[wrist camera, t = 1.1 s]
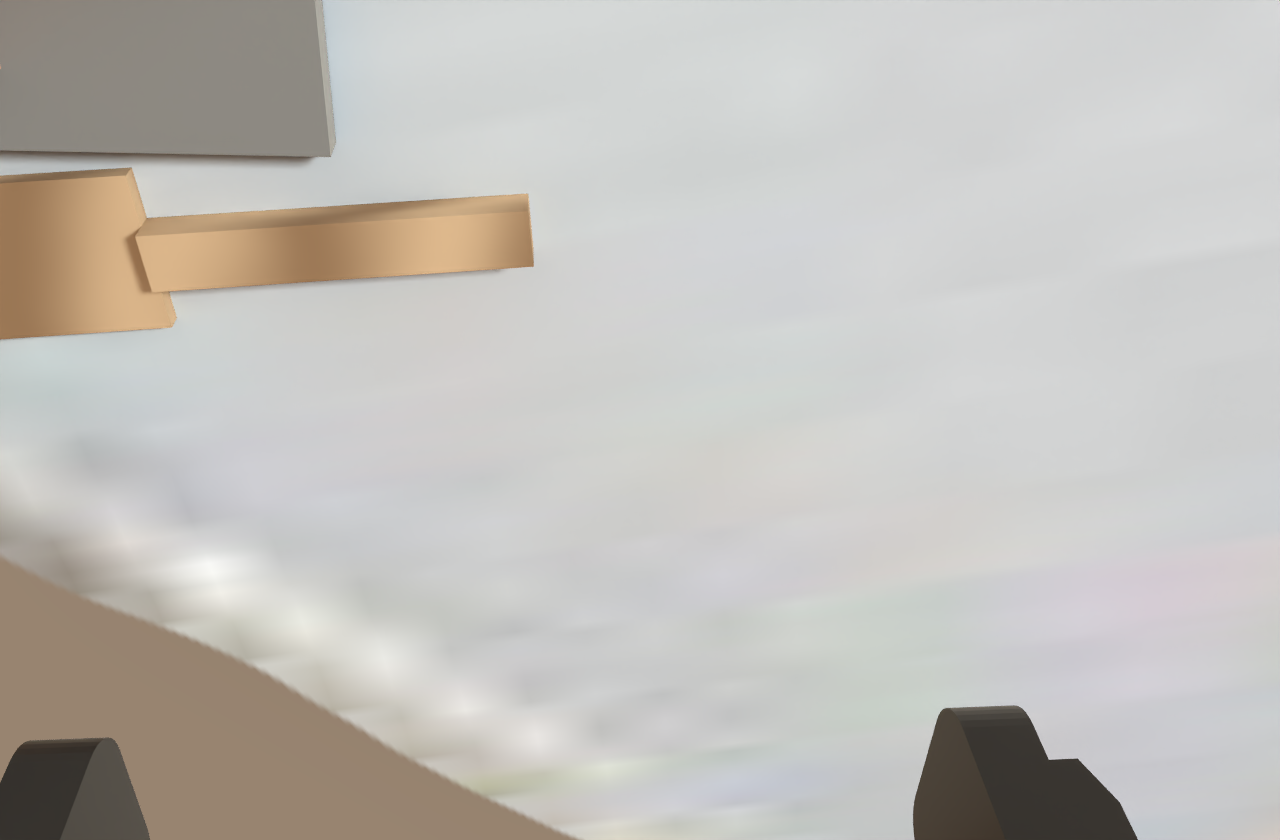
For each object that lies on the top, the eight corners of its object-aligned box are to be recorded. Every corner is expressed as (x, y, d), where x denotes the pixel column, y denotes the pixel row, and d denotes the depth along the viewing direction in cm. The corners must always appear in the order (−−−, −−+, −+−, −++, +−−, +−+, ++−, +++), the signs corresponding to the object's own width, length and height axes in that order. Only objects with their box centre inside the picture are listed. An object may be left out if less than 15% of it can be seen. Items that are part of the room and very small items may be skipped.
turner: (523, 142, 30) (523, 159, 29) (537, 291, 32) (537, 312, 31) (-109, 181, 29) (-131, 200, 28) (-45, 331, 32) (-63, 354, 31)
